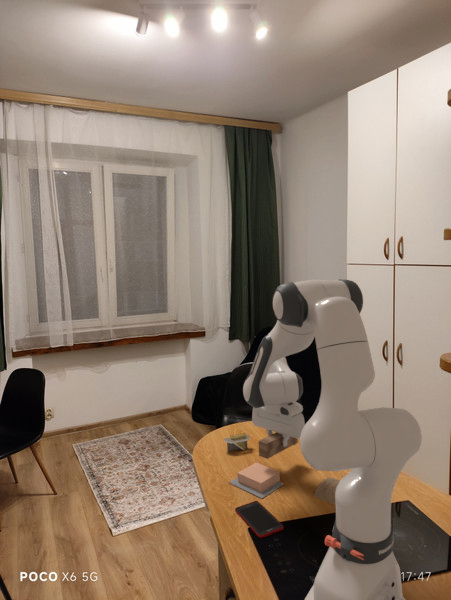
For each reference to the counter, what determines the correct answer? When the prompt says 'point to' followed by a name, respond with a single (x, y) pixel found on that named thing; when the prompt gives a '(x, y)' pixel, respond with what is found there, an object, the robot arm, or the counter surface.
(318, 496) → the clay tablet
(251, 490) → the mat
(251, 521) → the cell phone
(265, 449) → the bar
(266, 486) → the tile
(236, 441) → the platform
